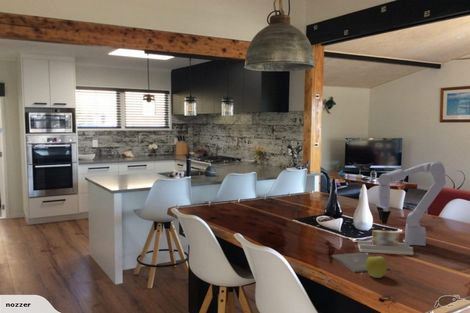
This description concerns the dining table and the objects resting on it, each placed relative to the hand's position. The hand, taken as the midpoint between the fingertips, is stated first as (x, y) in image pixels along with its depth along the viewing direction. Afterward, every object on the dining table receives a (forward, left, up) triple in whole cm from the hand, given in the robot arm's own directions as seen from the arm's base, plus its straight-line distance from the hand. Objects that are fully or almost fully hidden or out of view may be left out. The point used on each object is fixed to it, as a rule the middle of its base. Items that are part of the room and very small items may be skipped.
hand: (383, 222), depth 216 cm
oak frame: (+2, +19, -8) cm, 21 cm away
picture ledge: (+2, +19, -9) cm, 21 cm away
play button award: (+16, +40, -10) cm, 44 cm away
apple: (+11, +55, -10) cm, 57 cm away
